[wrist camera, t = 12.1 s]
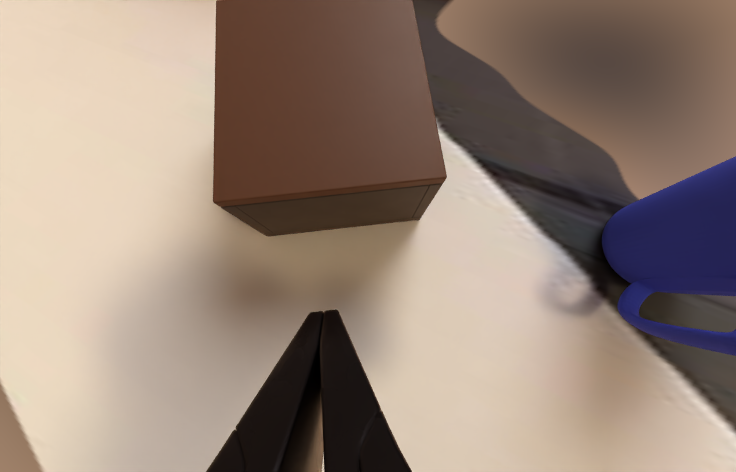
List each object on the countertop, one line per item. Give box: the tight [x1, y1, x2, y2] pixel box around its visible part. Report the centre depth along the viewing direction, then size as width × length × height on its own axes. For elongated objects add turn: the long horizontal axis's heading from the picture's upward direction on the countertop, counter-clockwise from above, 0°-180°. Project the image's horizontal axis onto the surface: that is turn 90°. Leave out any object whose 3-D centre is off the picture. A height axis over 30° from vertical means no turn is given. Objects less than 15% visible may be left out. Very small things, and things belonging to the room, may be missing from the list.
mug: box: [602, 157, 736, 356], centre depth 17 cm, size 8×12×10 cm
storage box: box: [221, 183, 443, 236], centre depth 20 cm, size 13×13×7 cm
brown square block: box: [213, 0, 447, 207], centre depth 17 cm, size 14×13×1 cm
